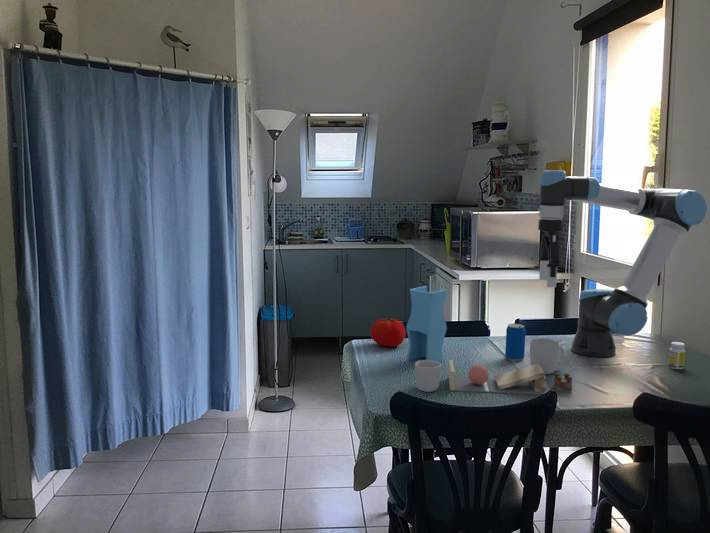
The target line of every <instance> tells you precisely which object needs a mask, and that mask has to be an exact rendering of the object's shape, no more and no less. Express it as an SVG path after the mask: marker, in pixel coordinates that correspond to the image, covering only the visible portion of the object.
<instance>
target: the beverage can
mask: <svg viewBox="0 0 710 533" xmlns="http://www.w3.org/2000/svg"><path fill="white" fill-rule="evenodd" d="M525 327H526V326H525V325H524V324H520V323H509V324H508V325H507V327H506V329H505V330H506V331H505V332H506V334H505V349H504V350H505V353H504V357H505V358H506V359H507V360H509V361H513V362H521V361H522V360H523V359H524V358H525V349H526V348H525V347H526V332H527V330H526V328H525Z"/></svg>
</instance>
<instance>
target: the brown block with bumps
mask: <svg viewBox="0 0 710 533" xmlns="http://www.w3.org/2000/svg"><path fill="white" fill-rule="evenodd" d="M553 388H554V389H555V391H556V392H564V391H573V377H572V376H571V375H570V373H568V372H566V373H565V374H564V376H561V374H560V373H559V372H555V373H554V376H553Z"/></svg>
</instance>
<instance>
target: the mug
mask: <svg viewBox="0 0 710 533" xmlns="http://www.w3.org/2000/svg"><path fill="white" fill-rule="evenodd" d="M529 358H530V359H529V360H530V366H532V365H535V364H538V363H539V365H540V367H541V368H542V370H543V372H544V374H545V375H549V374H553V373H554V372H555V370H557V369H556V368H557V366H558V365H560V364H561V363H562V362H563V361H564V359H565V349H564V348H563V347H562V346H560V342H558V341H557V340H554V339H552V338H532V339H530V342H529Z"/></svg>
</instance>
